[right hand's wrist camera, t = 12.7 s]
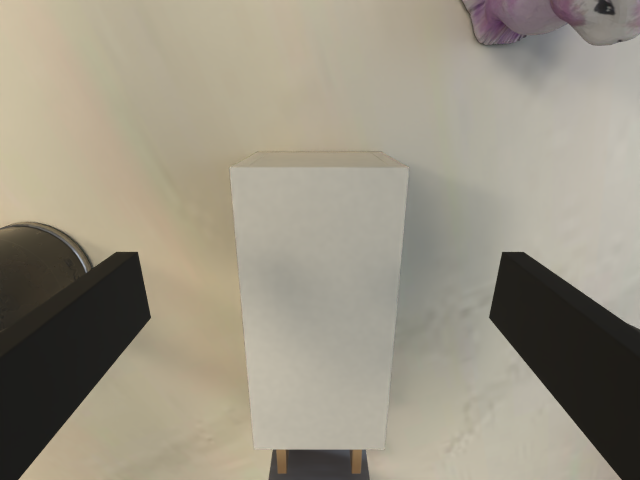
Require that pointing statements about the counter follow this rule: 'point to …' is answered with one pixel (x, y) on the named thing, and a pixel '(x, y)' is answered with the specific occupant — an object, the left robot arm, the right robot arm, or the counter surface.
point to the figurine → (554, 19)
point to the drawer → (318, 464)
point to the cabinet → (319, 293)
